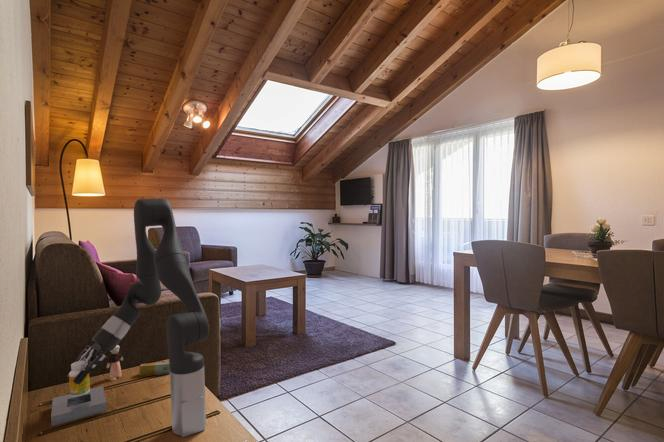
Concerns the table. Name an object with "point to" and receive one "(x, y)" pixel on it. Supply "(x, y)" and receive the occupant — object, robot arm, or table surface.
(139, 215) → the robot arm
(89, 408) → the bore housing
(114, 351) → the grandmother figurine
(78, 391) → the supplement bottle
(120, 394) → the table surface
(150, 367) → the medication box
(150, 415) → the table surface
